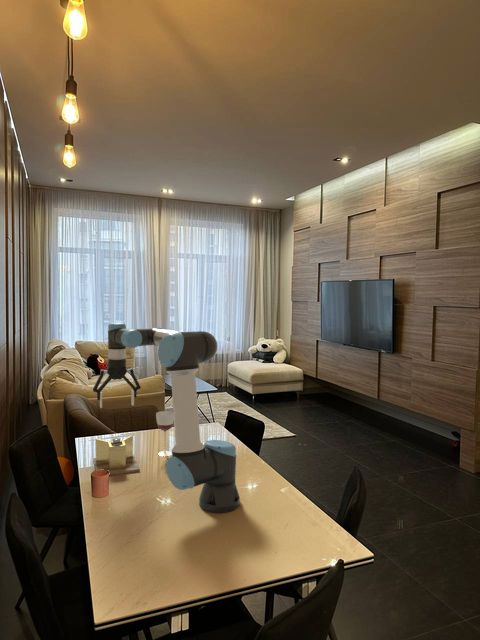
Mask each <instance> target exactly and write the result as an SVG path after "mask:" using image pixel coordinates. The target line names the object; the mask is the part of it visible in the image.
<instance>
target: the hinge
mask: <svg viewBox="0 0 480 640" xmlns="http://www.w3.org/2000/svg"><path fill="white" fill-rule="evenodd" d="M133 437H134V436H133V434H132V435H129V436H127V437H126V438H124V439H122V440H120V445H116V446H113V441H108V440H105V439H100V438H95V458H96V461H99V462H103V463H107V464H108V465H109V469H118V468H125V467H126V460H128V459H129V458H131V457H132V456H133V455H134V453H133V452H134V451H133V447H134V444H133V443H134V440H133V439H134V438H133Z"/></svg>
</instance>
